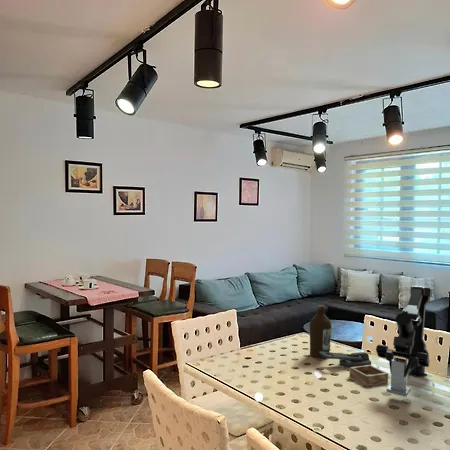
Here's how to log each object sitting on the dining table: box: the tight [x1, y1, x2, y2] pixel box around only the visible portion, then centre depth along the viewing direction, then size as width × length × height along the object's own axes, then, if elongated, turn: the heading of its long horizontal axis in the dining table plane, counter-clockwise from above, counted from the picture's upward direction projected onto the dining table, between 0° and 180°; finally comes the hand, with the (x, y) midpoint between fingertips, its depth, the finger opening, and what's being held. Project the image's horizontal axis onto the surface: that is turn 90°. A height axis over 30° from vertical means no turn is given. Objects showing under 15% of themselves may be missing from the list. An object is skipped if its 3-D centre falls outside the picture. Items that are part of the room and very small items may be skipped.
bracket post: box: [386, 356, 411, 398], centre depth 160 cm, size 7×7×12 cm
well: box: [349, 364, 389, 386], centre depth 180 cm, size 11×11×4 cm
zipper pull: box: [319, 351, 372, 369], centre depth 197 cm, size 9×7×25 cm
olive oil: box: [309, 304, 332, 360], centre depth 210 cm, size 11×11×25 cm
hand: (398, 375), depth 159 cm, fingers closed on bracket post, 4 cm apart
